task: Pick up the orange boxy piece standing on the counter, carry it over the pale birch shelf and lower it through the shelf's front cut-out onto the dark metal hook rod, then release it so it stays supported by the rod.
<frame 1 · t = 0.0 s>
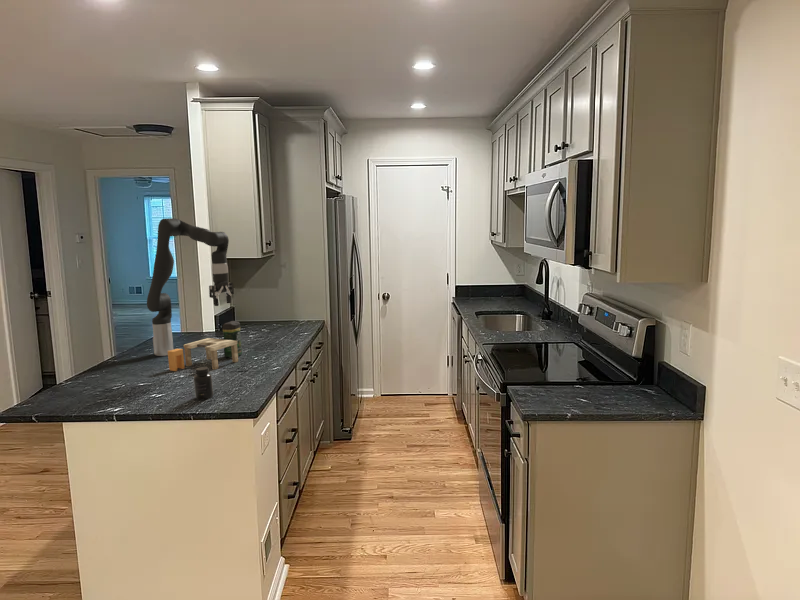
hand: (222, 304, 268), 29 cm above the countertop, fingers open, 8 cm apart
coffee jar: (233, 356, 283), on the countertop
supplement bottle: (204, 397, 216), on the countertop
orange boxy piece: (177, 369, 260), on the countertop
shelf: (212, 363, 269), on the countertop
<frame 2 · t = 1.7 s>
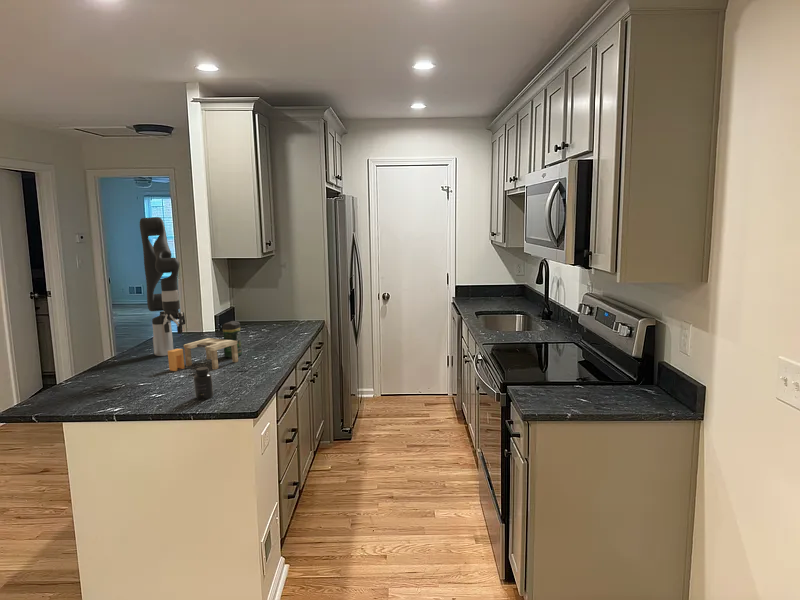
hand: (173, 333, 257), 18 cm above the countertop, fingers open, 8 cm apart
nothing on the countertop moved.
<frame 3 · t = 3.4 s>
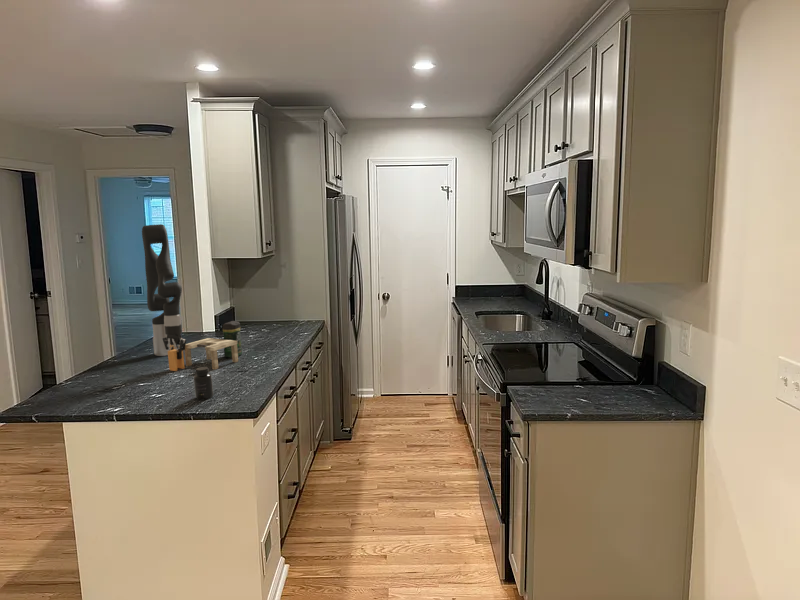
hand: (176, 358, 259), 5 cm above the countertop, fingers closed on orange boxy piece, 4 cm apart
orange boxy piece: (177, 369, 260), on the countertop, touching gripper
everything else where it was.
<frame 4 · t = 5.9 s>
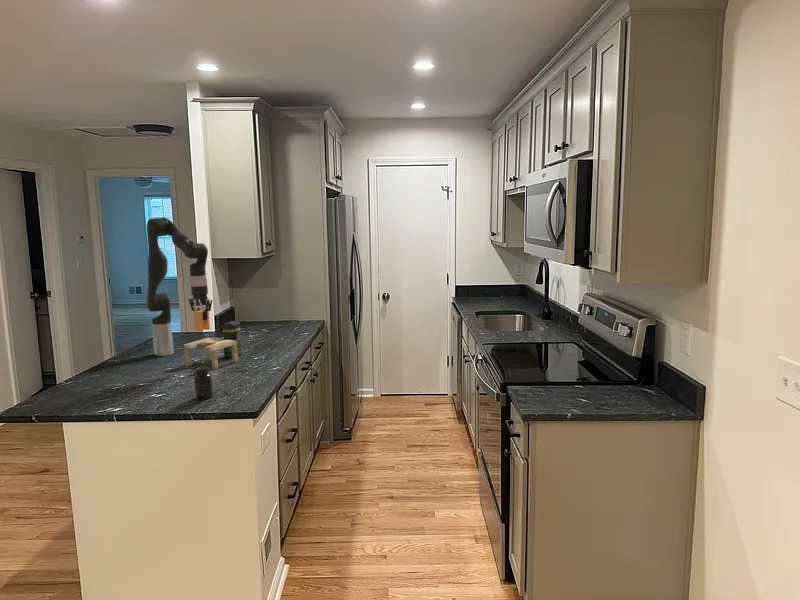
hand: (202, 319, 261), 23 cm above the countertop, fingers closed on orange boxy piece, 4 cm apart
orange boxy piece: (202, 330, 262), point 18 cm above the countertop, touching gripper
everything else where it was.
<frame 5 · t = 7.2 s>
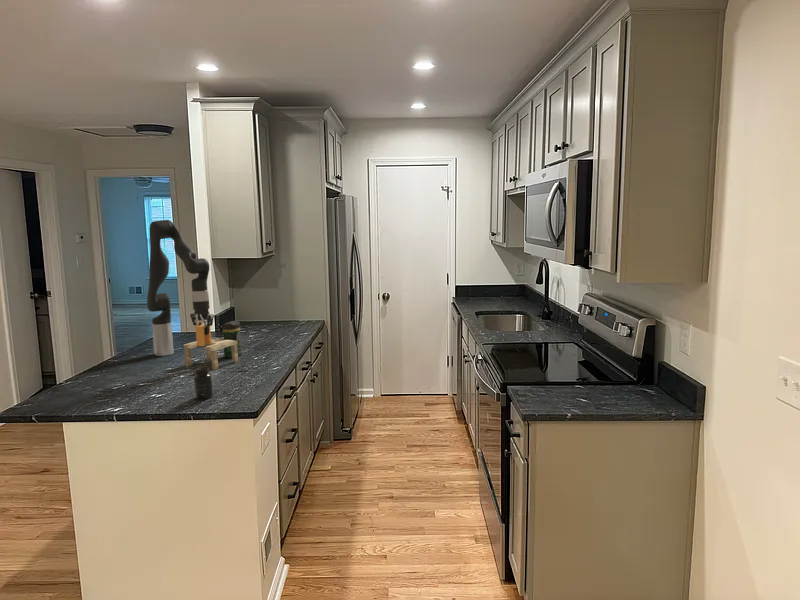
hand: (203, 334, 263), 16 cm above the countertop, fingers closed on orange boxy piece, 4 cm apart
orange boxy piece: (204, 344, 263), point 11 cm above the countertop, touching gripper
everything else where it was.
when the fingers open (12 cm above the countertop, at t = 8.3 s): orange boxy piece drops 3 cm, resting on shelf.
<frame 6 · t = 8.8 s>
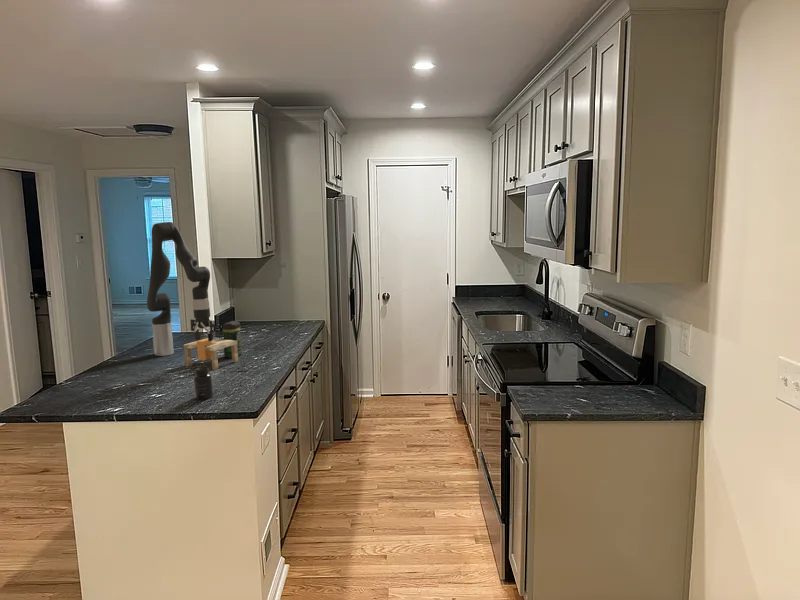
hand: (204, 340, 263), 13 cm above the countertop, fingers open, 8 cm apart
orange boxy piece: (205, 358, 265), point 3 cm above the countertop, touching shelf
everything else where it was.
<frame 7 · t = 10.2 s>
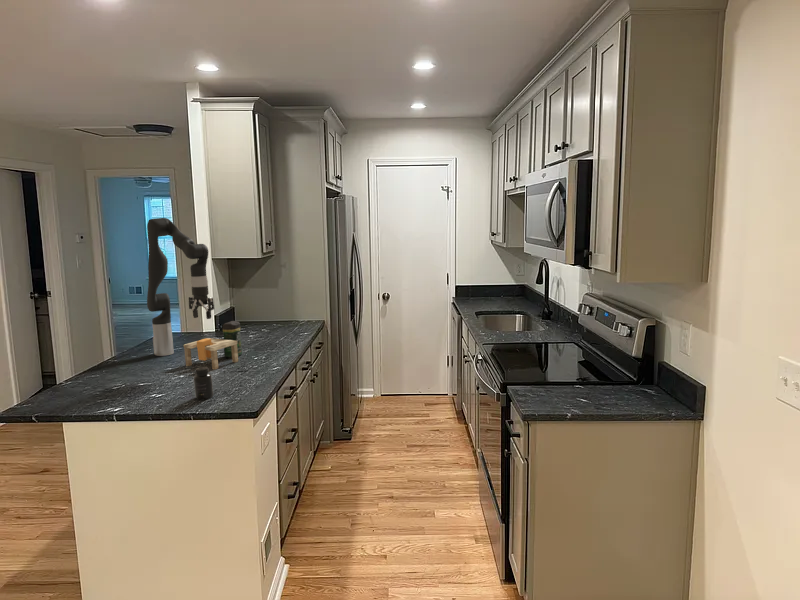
hand: (202, 318, 262), 24 cm above the countertop, fingers open, 8 cm apart
nothing on the countertop moved.
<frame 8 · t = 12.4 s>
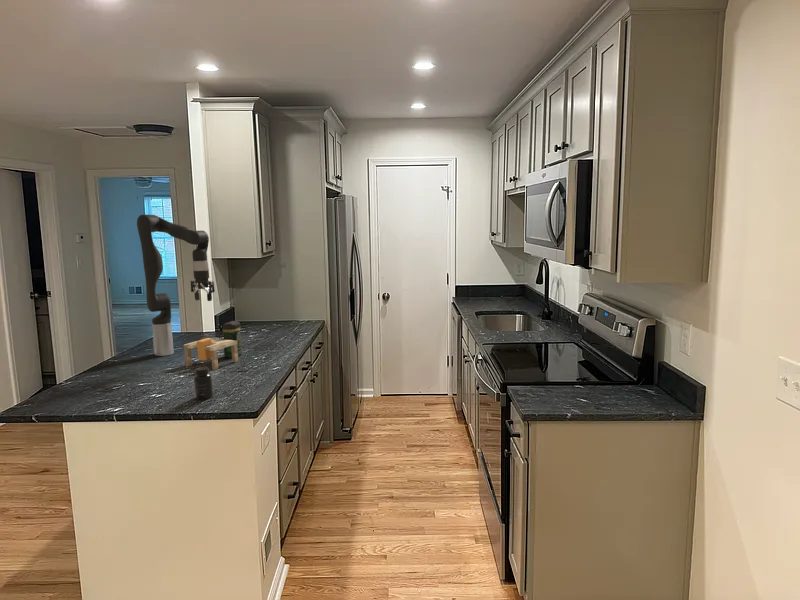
hand: (203, 300, 279), 30 cm above the countertop, fingers open, 8 cm apart
nothing on the countertop moved.
at the end: orange boxy piece inside the target area on the shelf (0.1 cm from its centre), point 3.5 cm above the shelf's base; orange boxy piece touching shelf; the gripper is holding nothing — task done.
